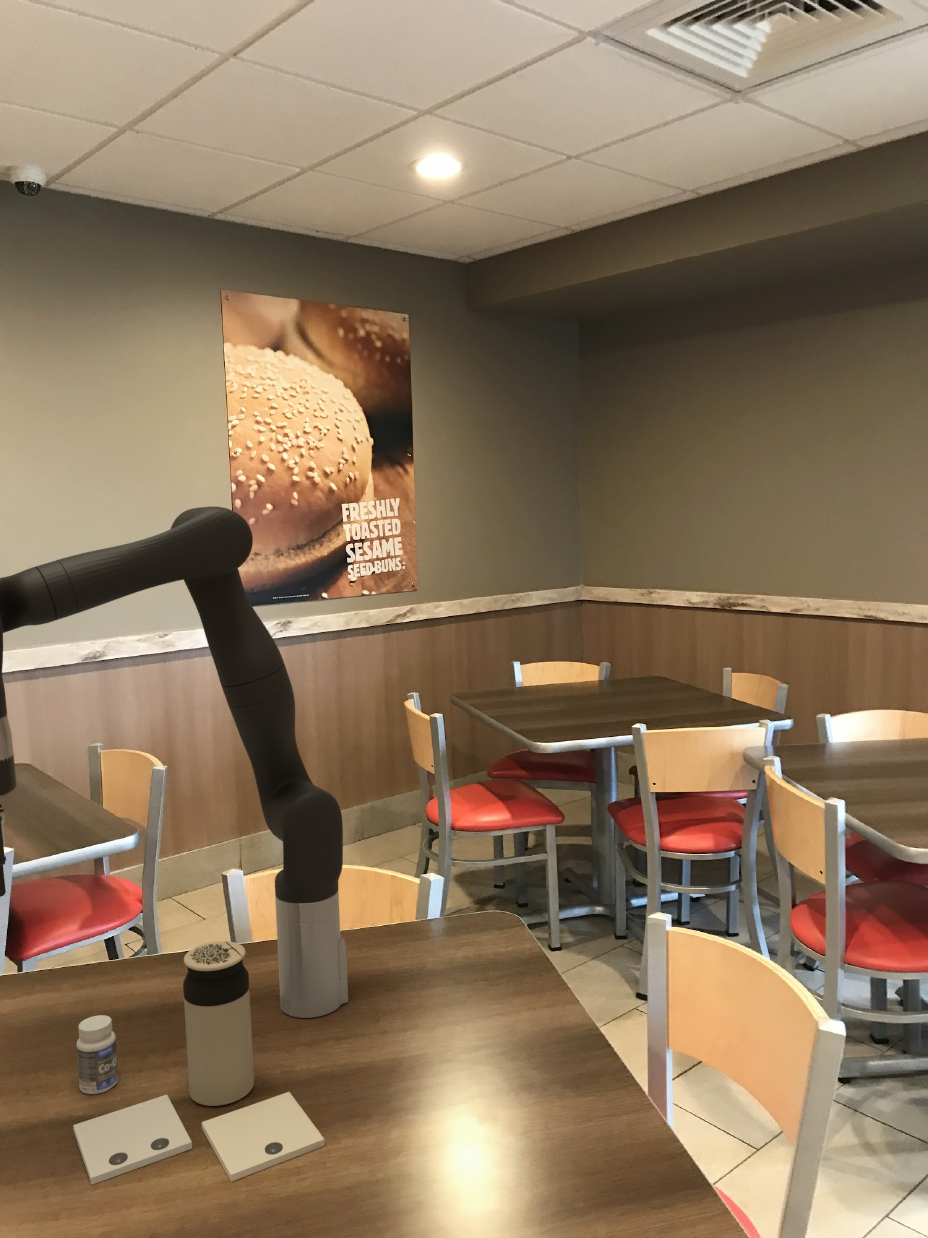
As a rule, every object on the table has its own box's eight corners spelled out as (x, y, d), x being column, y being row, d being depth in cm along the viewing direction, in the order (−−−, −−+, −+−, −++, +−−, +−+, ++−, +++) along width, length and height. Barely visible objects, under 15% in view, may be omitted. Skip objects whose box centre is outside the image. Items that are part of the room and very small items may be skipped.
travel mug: (197, 1116, 117) (188, 974, 115) (183, 1082, 124) (175, 948, 122) (261, 1096, 120) (254, 959, 118) (245, 1065, 127) (238, 935, 125)
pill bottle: (105, 1097, 121) (101, 1034, 120) (71, 1093, 122) (67, 1031, 121) (125, 1075, 126) (121, 1014, 125) (93, 1072, 127) (89, 1011, 126)
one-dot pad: (289, 1098, 120) (289, 1091, 120) (324, 1145, 111) (324, 1138, 110) (201, 1128, 114) (201, 1121, 114) (231, 1182, 105) (230, 1174, 105)
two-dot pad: (167, 1100, 120) (166, 1093, 120) (192, 1148, 111) (191, 1141, 110) (73, 1131, 114) (73, 1124, 114) (91, 1185, 105) (91, 1177, 105)
